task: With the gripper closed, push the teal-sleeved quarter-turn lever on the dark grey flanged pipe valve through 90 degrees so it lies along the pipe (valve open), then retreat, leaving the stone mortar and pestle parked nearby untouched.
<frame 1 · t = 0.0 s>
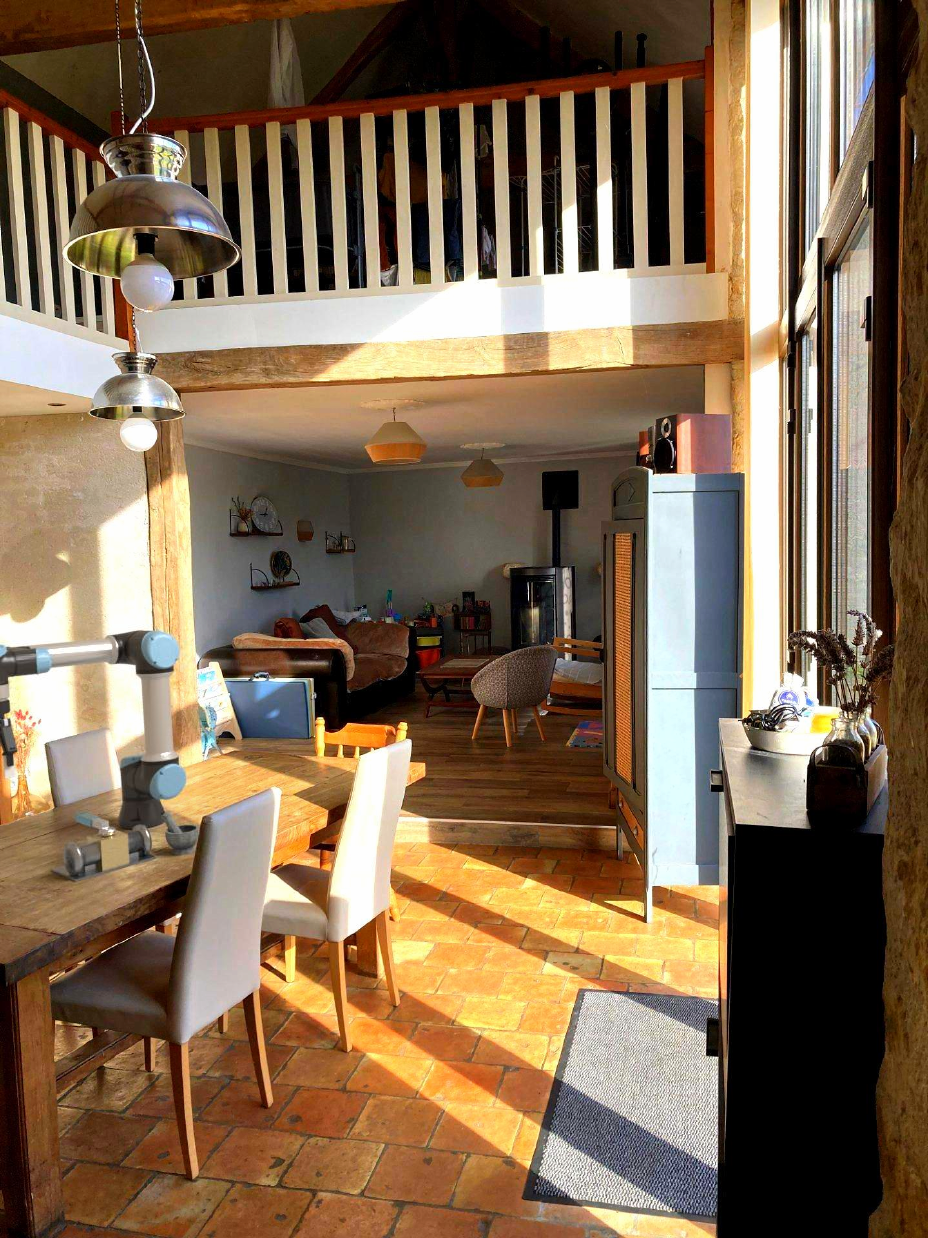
mortar and pestle: (181, 852, 275), on the table
valve body: (109, 866, 264), on the table
lever: (94, 823, 268), point 11 cm above the table, hinge at 0.0°
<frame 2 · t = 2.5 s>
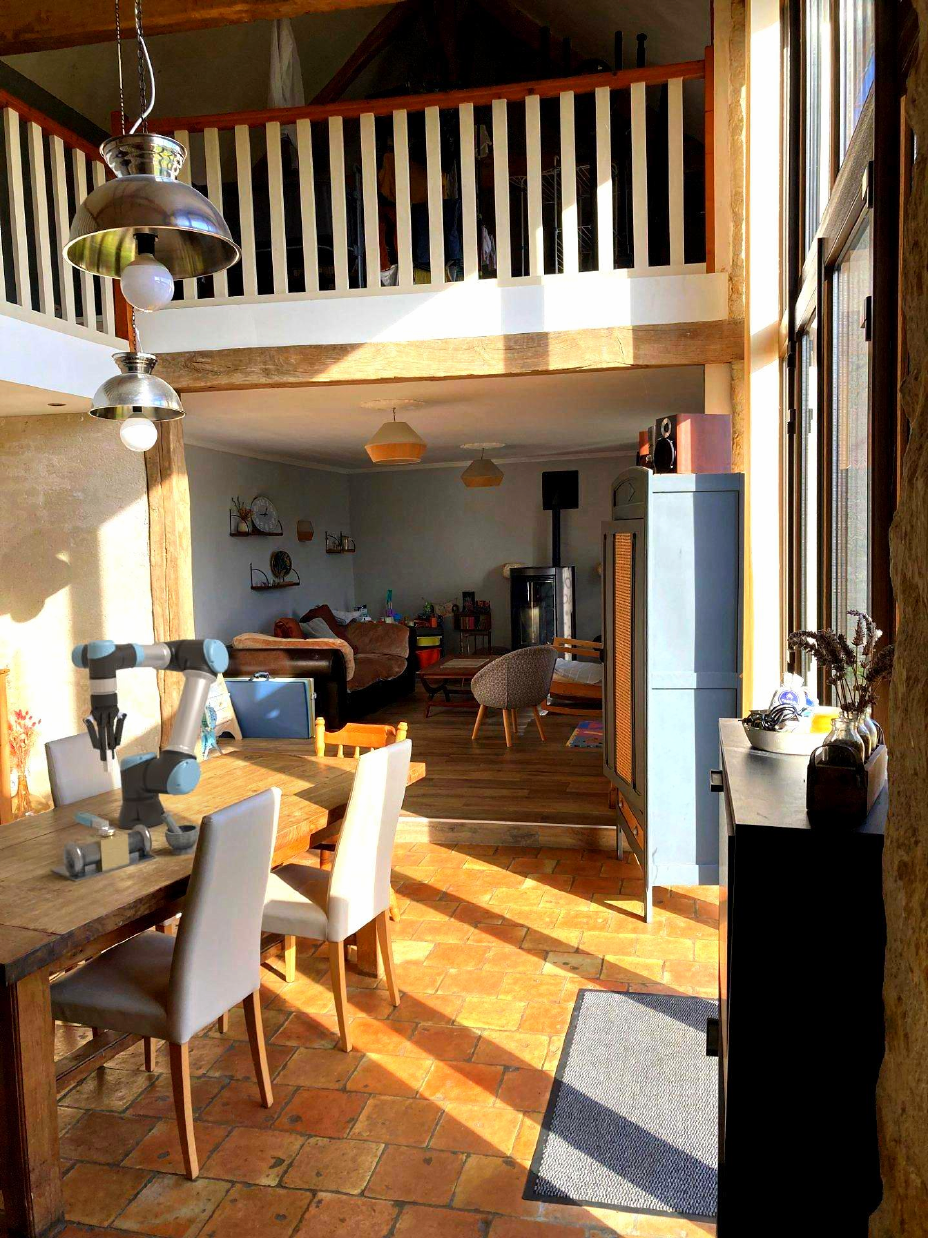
hand: (108, 771, 275), 25 cm above the table, fingers closed
nothing on the table moved.
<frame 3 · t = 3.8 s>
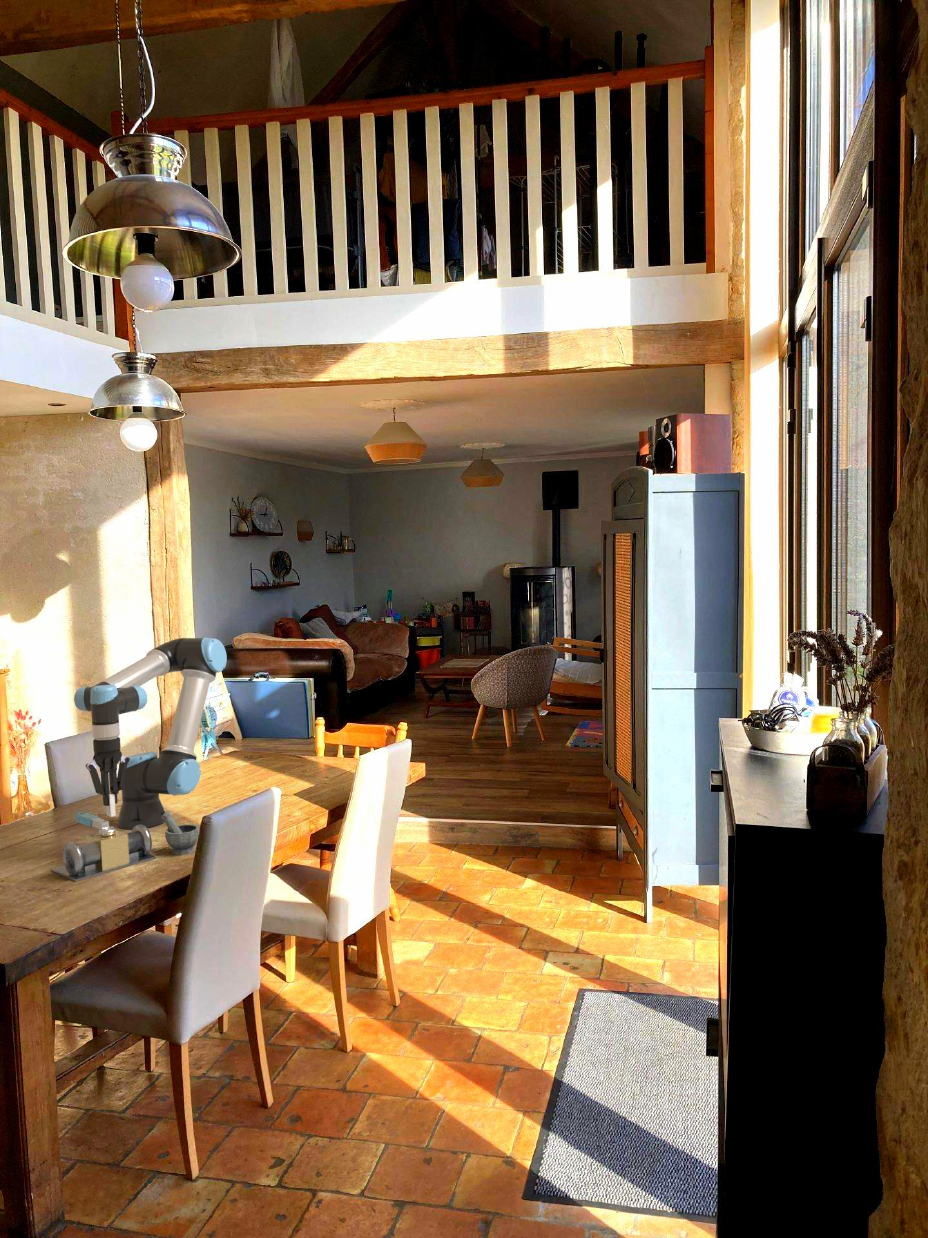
hand: (111, 815, 276), 11 cm above the table, fingers closed
nothing on the table moved.
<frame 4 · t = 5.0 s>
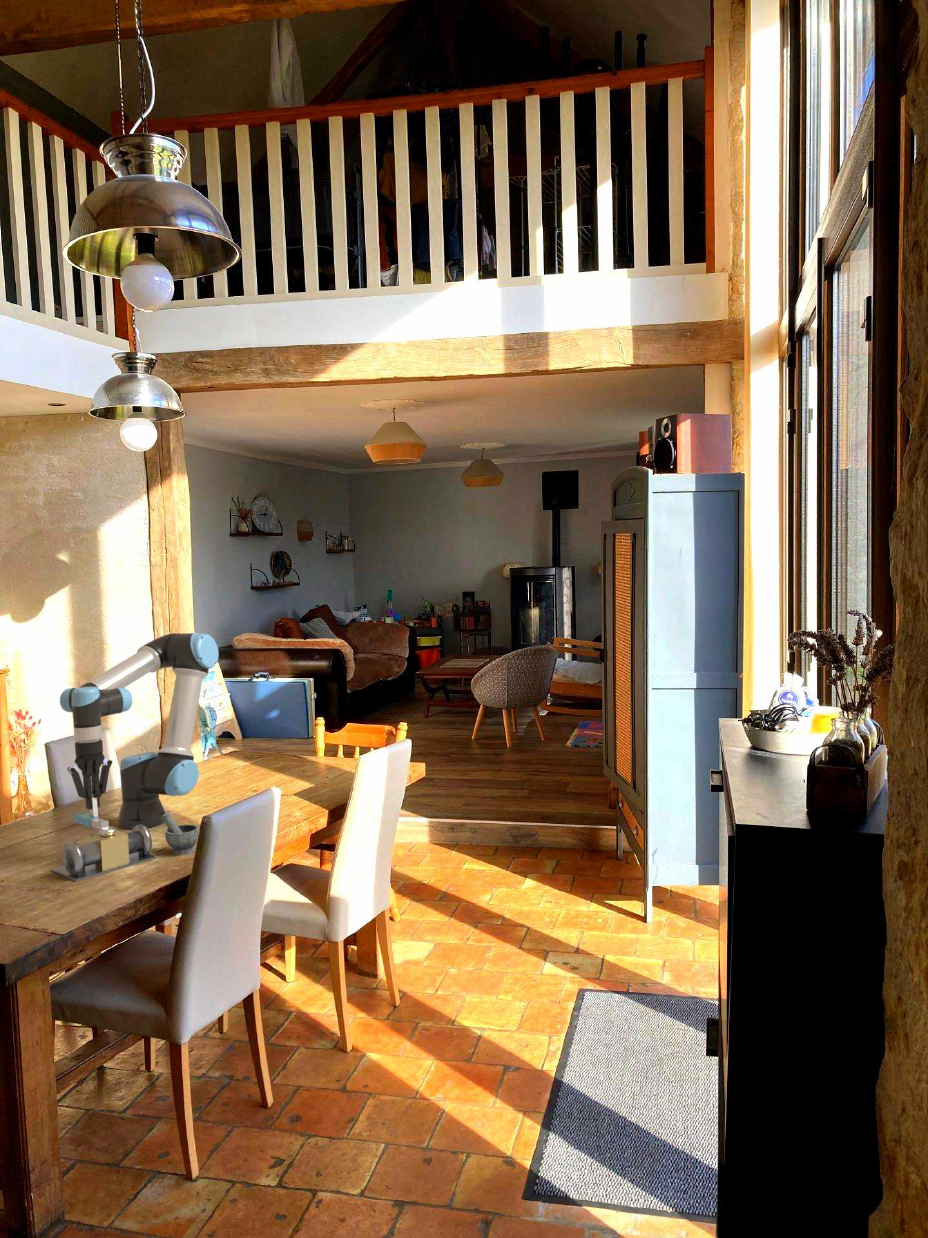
hand: (93, 819, 272), 12 cm above the table, fingers closed
lever: (93, 824, 268), point 11 cm above the table, hinge at 2.2°, touching gripper
everything else where it was.
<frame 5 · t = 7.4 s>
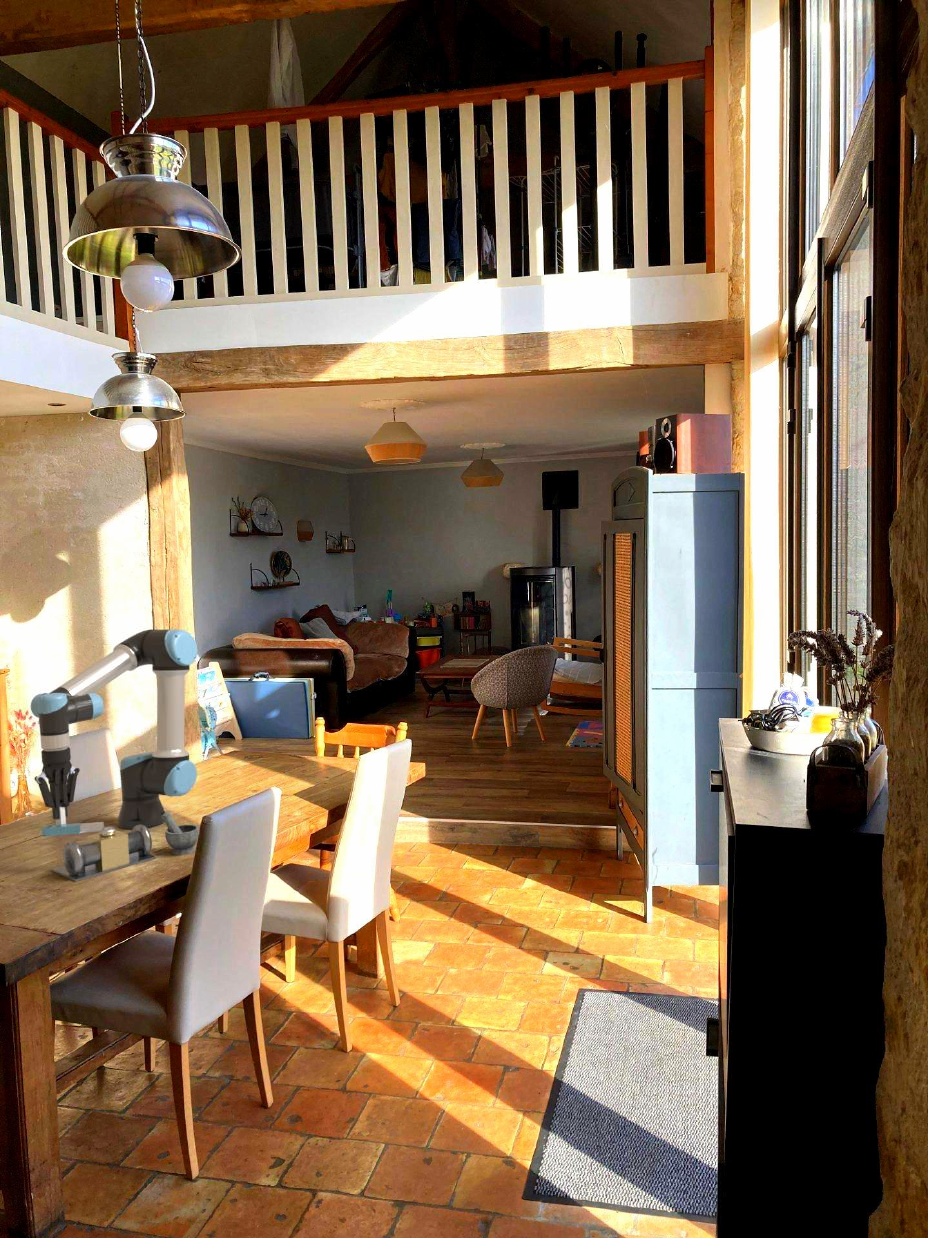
hand: (61, 829, 264), 11 cm above the table, fingers closed
lever: (78, 830, 262), point 11 cm above the table, hinge at 52.4°, touching gripper
everything else where it was.
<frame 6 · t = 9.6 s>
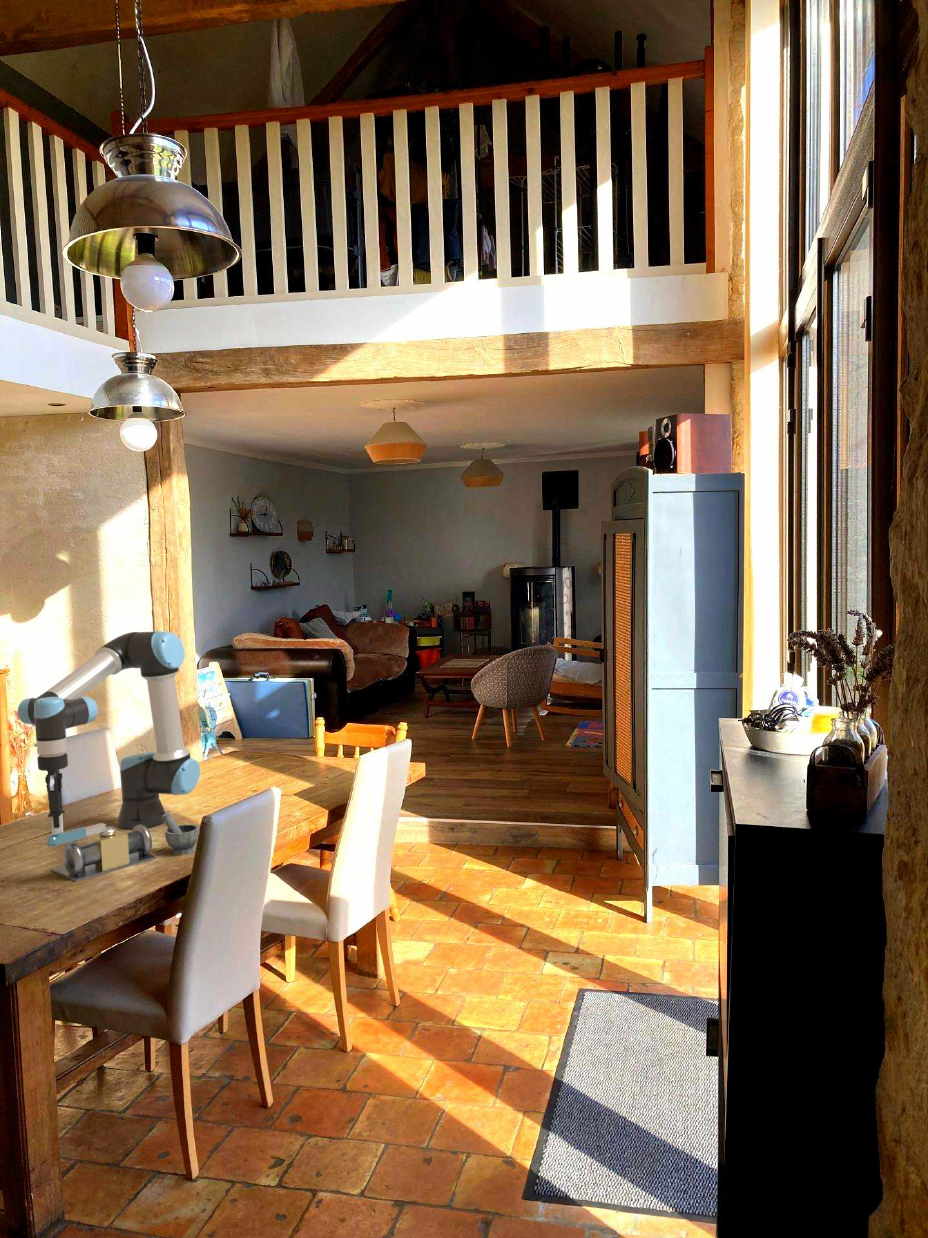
hand: (58, 838, 255), 11 cm above the table, fingers closed
lever: (81, 835, 257), point 11 cm above the table, hinge at 93.5°, touching gripper
everything else where it was.
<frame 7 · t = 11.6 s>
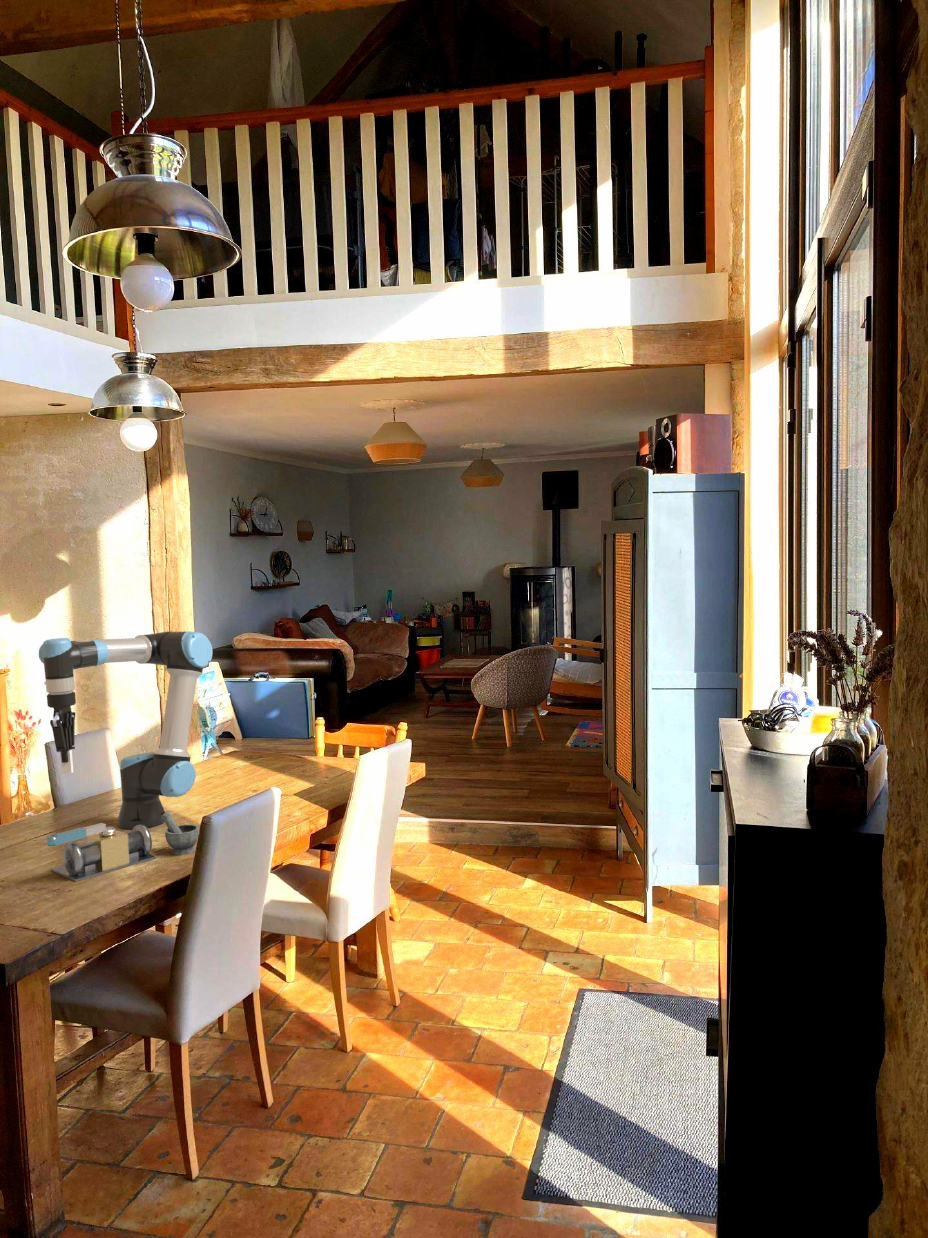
hand: (67, 772, 267), 26 cm above the table, fingers closed
lever: (82, 835, 257), point 11 cm above the table, hinge at 93.6°
everything else where it was.
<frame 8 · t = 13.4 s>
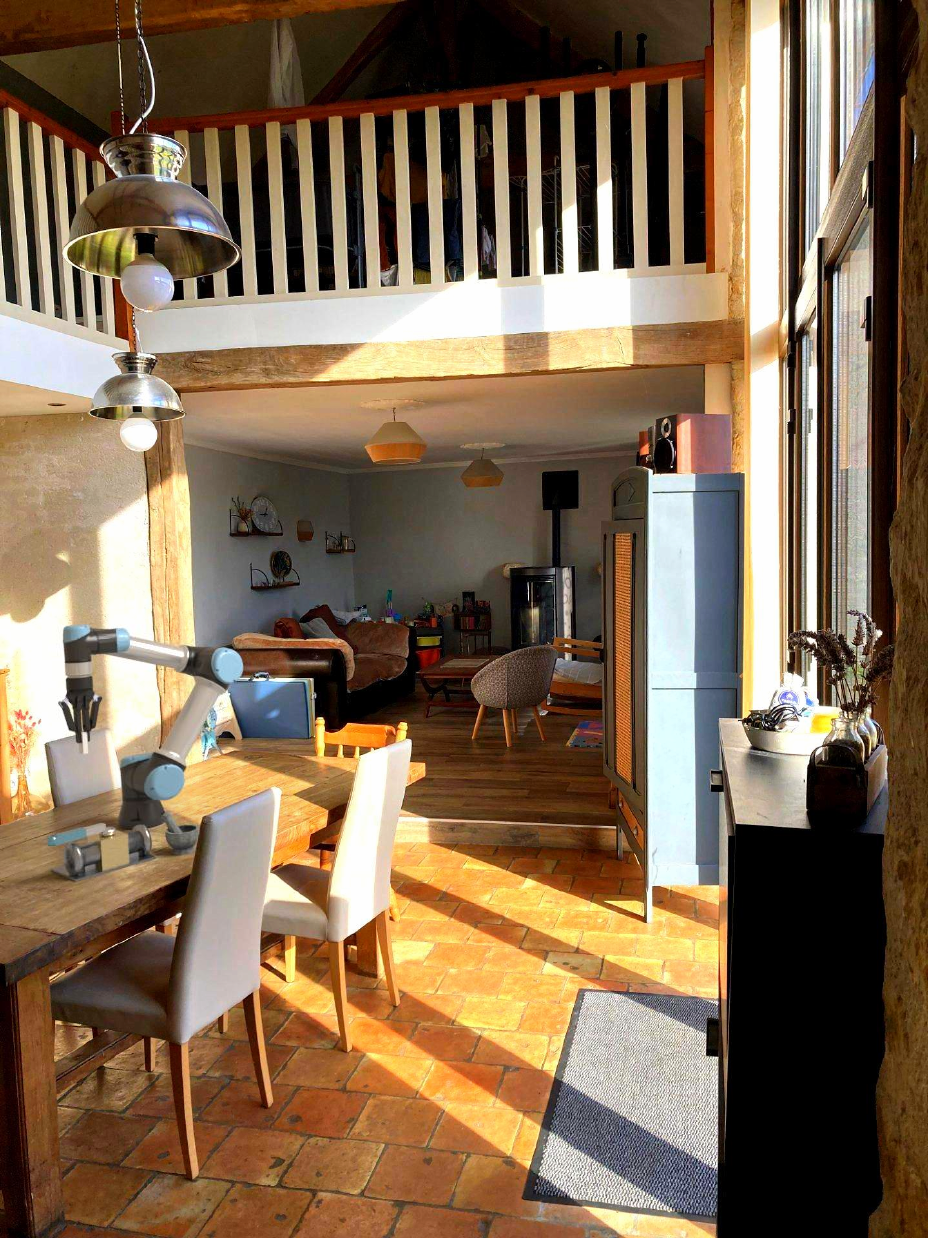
hand: (83, 753, 280), 29 cm above the table, fingers closed
nothing on the table moved.
at the end: lever at +94° (first picture: +0°); lever touching nothing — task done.
